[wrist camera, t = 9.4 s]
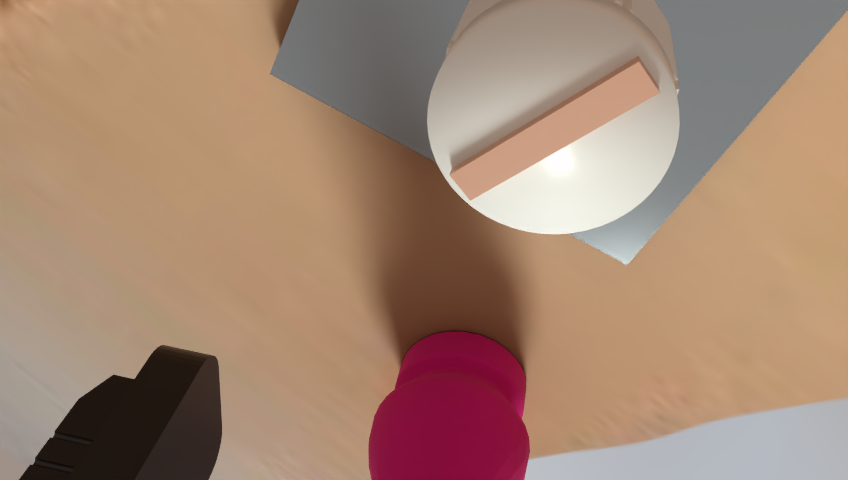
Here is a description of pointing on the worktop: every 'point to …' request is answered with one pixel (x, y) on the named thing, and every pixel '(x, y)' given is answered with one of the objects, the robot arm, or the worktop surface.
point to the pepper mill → (452, 414)
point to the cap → (556, 110)
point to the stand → (438, 19)
